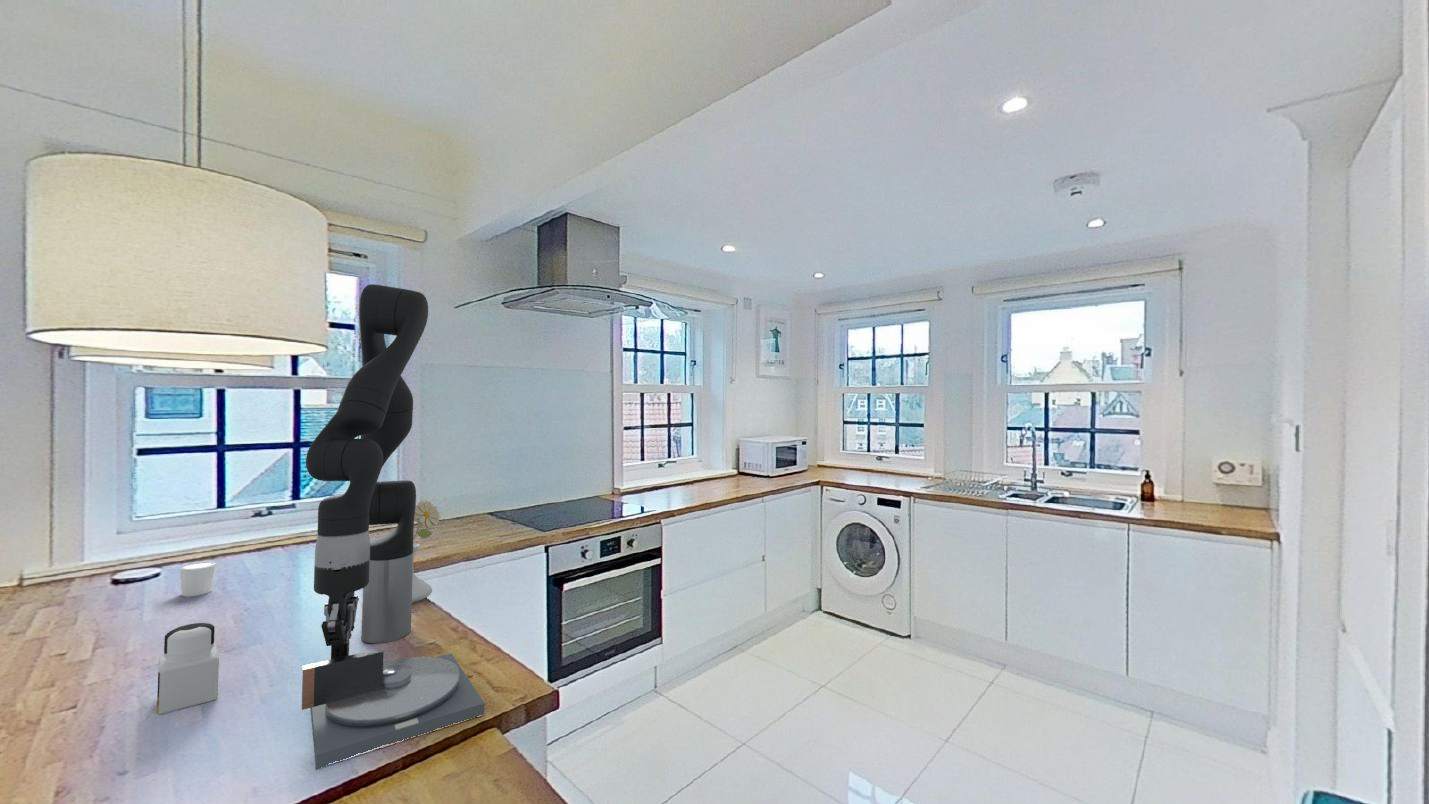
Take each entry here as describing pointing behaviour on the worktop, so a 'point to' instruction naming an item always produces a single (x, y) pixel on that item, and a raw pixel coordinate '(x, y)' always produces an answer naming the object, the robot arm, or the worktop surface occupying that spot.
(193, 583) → the white cup
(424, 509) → the flower in vase
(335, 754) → the plinth
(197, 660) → the grey handled container
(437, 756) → the worktop surface
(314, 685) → the rotary knob
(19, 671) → the worktop surface
